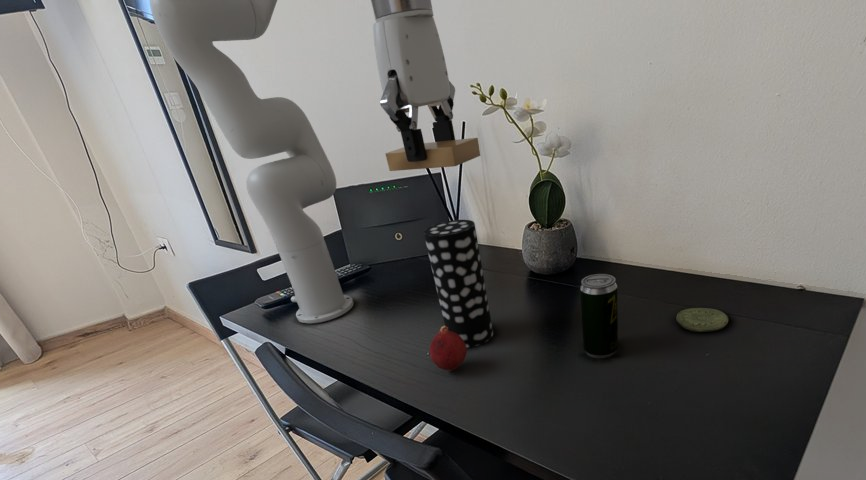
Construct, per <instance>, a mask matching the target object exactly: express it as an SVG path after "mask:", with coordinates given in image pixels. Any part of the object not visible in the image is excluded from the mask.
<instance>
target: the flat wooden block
mask: <svg viewBox="0 0 866 480" xmlns="http://www.w3.org/2000/svg"><path fill="white" fill-rule="evenodd" d="M424 145H425V150H426V155H427V159H426V160H424V161H414V162H409V161H408V160H407V157H406V153H405V148H404V147H401V148H397V149H394V150H392V151H388V152H385V158H386V162H387V166H388V170H389V172H397V171H398V172H399V171H411V170H422V169H423V170H425V169H435V168H436V169H437V168H450V167H451V168H453V167H457V166H460V165H462V164H464V163H467V162H469V161H472V160H474V159H477V158H479V157H480V156H481V150H480V144H479V138H478V137H469V138H461V139H455V140H450V141H440V142H436V141H432V142H424Z"/></svg>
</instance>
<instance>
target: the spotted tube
mask: <svg viewBox="0 0 866 480" xmlns="http://www.w3.org/2000/svg"><path fill="white" fill-rule="evenodd" d="M476 229H477V228H476V224H475V222H474V221H473V220H470V219H452V220H446V221H442V222H438V223H436V224H433V225H431V226H428V227H426V228H425V229H423V237H424V240H425V246H426V251H427V255H428V258H429V263H430V267H431V271H432V275H433V281H434V285H435V289H436V292H437V296H438V302H439V306H440V310H441V315H442V319H443V324H444V326H447V327H448V331H452V332H454V333H456V334H458V335H459V336H460V337H461V338H462V339H463V340H464V342H465V345H466V348H467V349H468V348H474V347H478V346H481V345H483V344H485V343H487V342H488V341H490V340H491V339H492V337H493V336H494V327H493V324H492V323H493V322H492V318H491V311H490V306H489V300H488V295H487V293H488V292H487V288H486V287H487V286H486V281H485V277H484V270H483V265H482V259H481V252H480V247H479V242H478V235H477V230H476Z"/></svg>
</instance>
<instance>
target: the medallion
mask: <svg viewBox="0 0 866 480" xmlns="http://www.w3.org/2000/svg"><path fill="white" fill-rule="evenodd" d="M675 319H676V322H677V323H678V324H679V325H680V326H681V327H682V328H683V329H685V330H688V331H690V332H694V333H695V332H696V333H711V332H712V333H713V332H716V331H721V330H723V329H724V328H725V327H727V325H728V324H729V317H728V315H727V314H726V313H725V312H723V311H722V310H720V309H716V308H712V307H711V308H709V307H691V308H685V309H683V310H680V311H679V312H677V315H676V318H675Z"/></svg>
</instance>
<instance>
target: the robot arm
mask: <svg viewBox="0 0 866 480" xmlns="http://www.w3.org/2000/svg"><path fill="white" fill-rule="evenodd" d="M149 1H150V2H149V3H150V5H149V6H150V10H151V15H152V18H153V19H152V20H153V21H154V25H155V28H156V30H157V32H158V35H159V36H160V38H161V40H162V43H163V44H164V45H165V47H166V49H167V50H168V52H169V54H170V55H171V56H172V57H173V59H174V61H176V63H177V64H178V65H179V66H180V68H181V69H182V70H183V72H184V73H185V74H186V75H187V76H188V77H189V79H190V80H191V81H192V83H193V84H194V86H195V87H196V89H197V90H198V91H199V93H200V95H201V97H202V99H203V101H204V103H205V104H206V106H207V108H208V110H209V111H210V113H211V115H212V116H213V118H214V120H215V122H216V123H217V125H218V127H219V129H220V131H221V132H222V134H223V136H224V138H225V139H226V141H227V142H228V144H229V146H230V148H232V150H233V151H234V153H235V154H236V155H238V156H239V157H240V158H243V159H246V160H254V159H255V160H256V159H261V158H267V157H269V156H274V155H279V154H281V153H285V152H286V154H287V155H288V157H286V158H280V159H277V160H274V161H270V162H267V163H263V164H261V165H258V166H257V167H255V168H253V169H252V170H251V171H250V172H249V174H248V175H247V177H246V182H245V183H246V184H245V185H246V186H245V187H246V191H247V194H248V196H249V198H250V200H251V201H252V203H253V205H254V206H255V208H256V210H257V212H258V213H259V215H260V216H261V218H262V219H263V220H262V221H264V223H265V225H266V227H267V229H268V231H269V233H270V236H271V238H272V240H273V243H274V246H275V248H276V250H277V252H278V255H279V257H280V261H281V262H282V264H283V268H284V270H285V272H286V275H287V277H288V280H289V282H290V285H291V287H292V290H293V292H294V295H292V296H291V297H290V301H291V302H292V303H297V305H298V310H296V313H295V317H296V319H297V321H298V322H299V323H302V324H319V323H325V322H327V321H332V320H334V319H337V318H339V317H341V316H344V315H345V314H346V313H348V312H349V311H350V310H351V309H352V308H353V306H354V300H353V297H351V296H349V295H347V294H344V292H343V289H342V286H341V284H340V281H339V278H338V275H337V272H336V269H335V266H334V264H333V260H332V258H331V254H330V252H329V249H328V246H327V243H326V241H325V238H324V235H323V232H322V230H321V228H320V226H319V224H318V223H317V222H316V221H315V220H314V219H312V217H310V216H309V214H308V213H306V212H305V211H304V209H306V208H308V207H310V206H313V205H315V204H319V203H321V202H324V201H326V200H329V199H331V197H333V196H334V194H335V192H336V191H337V178H336V174H335V172H334V169H333V166H332V165H331V162H330V160H329V157H328V156H327V154H326V151H325V150H324V147H323V146H322V144H321V142H320V140H319V138H318V136H317V134H316V132H315V130H314V128H313V126H312V124H311V122H310V121H309V118H308V117H307V115H306V113H305V112H304V110H303V109H302V108H301V107H300V106H299V105H298V104H297V103H296V102H294V101H293V100H292V99H290V98H288V97H287V98H286V97H283V96H282V97H281V96H280V97H279V96H275V97H267V98H261V97H259V96H258V95H257V94H256V93H255V91H254V89H253V88H252V86H251V84H250V82H249V80H248V78H247V76H246V75H245V73H244V72H243V70H242V69H241V68H240V66H239V65H237V64H236V63H235V62H234V61H233V60H232V59H231V58H230V57H229V56H228V55H226V54H225V52H222V51H221V50H220V49H218V48H217V47H216V46H215V45H214V42H231V41H250V40H256V39H259V38H260V37H262V36H263V35H264V34H265V33H266V32H267V30H268V27H269V25H270V23H271V20H272V17H273V14H274V12H275V8H276V5H277V2H278V0H149ZM370 3H371V8H372V11H373V15H374V16H373V17H374V19H375V22H374V23H373V25H372V27H373V28H372V30H373V41H374V42H373V43H374V52H375V58H376V65H377V71H378V75H379V76H378V77H379V81H380V87H381V92H382V95H381V98H380V100H379V105H380V107H381V108H382V109H383V110H384V112H385V113H386V114H387V115H388V117H389V119H390V121H391V122H392V123H393V124H394V125H395V128H396V130H397V132H398V133H400V136H401V140H402V144H403V148H405V153H406V157H407V160H408V161H409V162H414V161H424V160H426V159H427V155H426V150H425V145H424V143H425V141H424V136H423V131H422V128H418V122H419V121H418V119H419V108H421V107H424V106H427V107H428V109H429V111H430V113H431V116H432V117H433V119H434V121H433V122H432V128H433V133H434V138H435V142H440V141H450V140H456V136H455V130H454V125H453V119H454V113H453V109H454V106H455V105H454V103H455V102H454V100H455V95H456V88H455V86H454V85H453V83H452V82H451V81H450V80H449V73H448V69H447V63H446V59H445V54H444V49H443V46H442V42H441V39H440V35H439V31H438V28H437V24H436V21H435V18H434V16H435V15H434V10H433V5H432V0H370ZM407 113H408V115H407Z"/></svg>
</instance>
